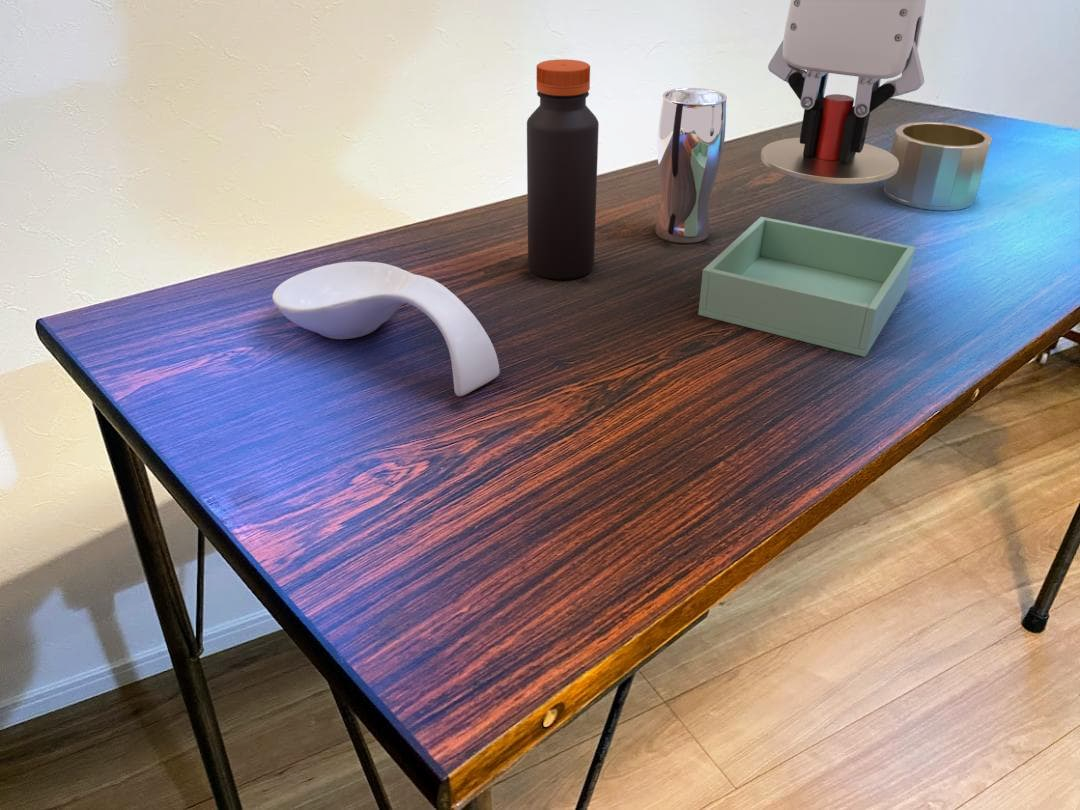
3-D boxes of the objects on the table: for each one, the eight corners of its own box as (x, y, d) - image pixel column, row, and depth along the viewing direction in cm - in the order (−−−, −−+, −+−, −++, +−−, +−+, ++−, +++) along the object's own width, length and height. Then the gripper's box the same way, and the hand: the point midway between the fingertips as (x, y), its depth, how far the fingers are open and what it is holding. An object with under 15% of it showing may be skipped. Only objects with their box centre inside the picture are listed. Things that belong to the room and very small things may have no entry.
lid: (909, 161, 81) (925, 92, 78) (877, 200, 73) (894, 124, 69) (783, 141, 86) (793, 75, 83) (740, 175, 78) (749, 103, 74)
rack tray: (905, 290, 89) (916, 246, 86) (865, 357, 78) (876, 309, 75) (755, 257, 95) (760, 216, 93) (697, 315, 84) (702, 269, 82)
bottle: (606, 265, 94) (615, 63, 83) (566, 287, 89) (569, 77, 78) (555, 249, 97) (557, 53, 86) (514, 269, 93) (510, 66, 82)
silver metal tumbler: (711, 222, 104) (726, 87, 96) (715, 246, 98) (731, 105, 90) (650, 220, 104) (660, 86, 96) (651, 244, 98) (661, 103, 90)
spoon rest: (252, 325, 83) (238, 252, 79) (354, 284, 90) (345, 215, 86) (431, 420, 69) (424, 338, 66) (532, 362, 77) (532, 285, 73)
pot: (981, 190, 113) (998, 129, 109) (966, 216, 105) (983, 153, 101) (894, 175, 117) (907, 117, 113) (874, 200, 110) (886, 138, 106)
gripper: (992, -82, 68) (934, 160, 78) (784, -91, 75) (755, 131, 85) (975, -74, 63) (915, 185, 73) (753, -85, 70) (725, 152, 80)
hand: (829, 154), depth 79 cm, fingers closed on lid, 2 cm apart
